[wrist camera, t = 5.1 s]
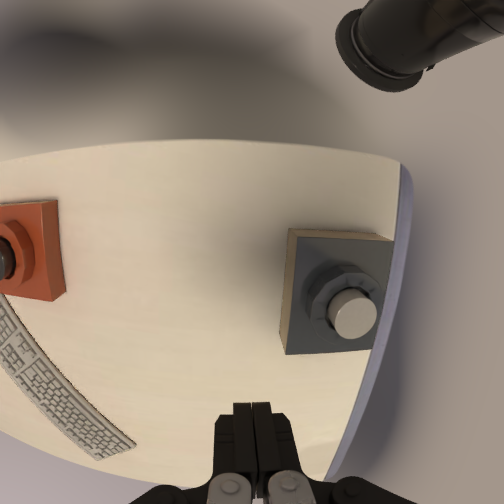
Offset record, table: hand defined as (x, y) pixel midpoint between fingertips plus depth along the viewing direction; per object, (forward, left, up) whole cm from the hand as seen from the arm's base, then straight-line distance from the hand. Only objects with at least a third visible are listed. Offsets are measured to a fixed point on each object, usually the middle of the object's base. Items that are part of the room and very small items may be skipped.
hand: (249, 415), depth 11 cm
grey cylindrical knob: (0, +9, -12) cm, 15 cm away
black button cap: (-3, -24, -13) cm, 28 cm away
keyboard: (+18, -27, -18) cm, 37 cm away
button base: (-3, -24, -17) cm, 30 cm away
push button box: (0, +9, -17) cm, 19 cm away
